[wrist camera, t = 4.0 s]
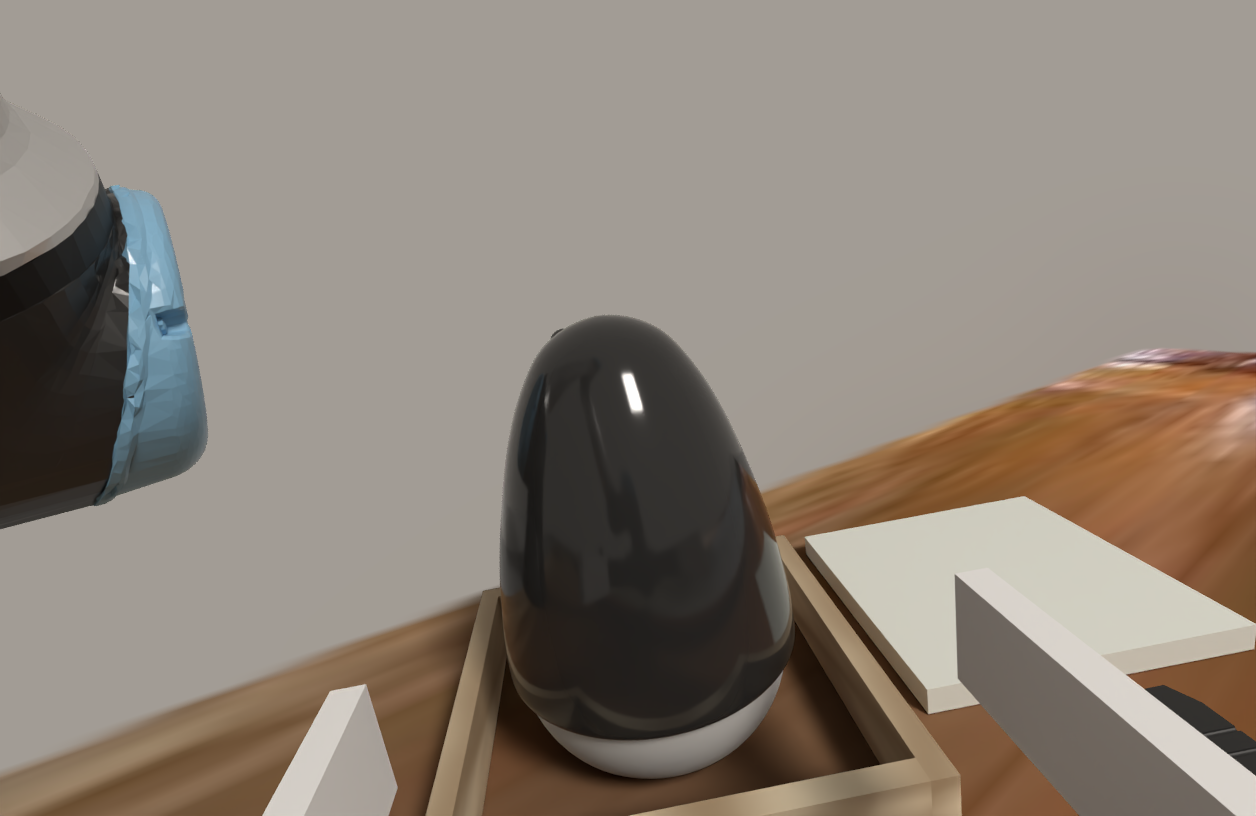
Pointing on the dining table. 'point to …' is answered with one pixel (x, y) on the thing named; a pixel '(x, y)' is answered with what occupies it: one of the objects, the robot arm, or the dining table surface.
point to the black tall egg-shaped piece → (637, 557)
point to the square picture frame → (795, 812)
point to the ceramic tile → (1032, 564)
